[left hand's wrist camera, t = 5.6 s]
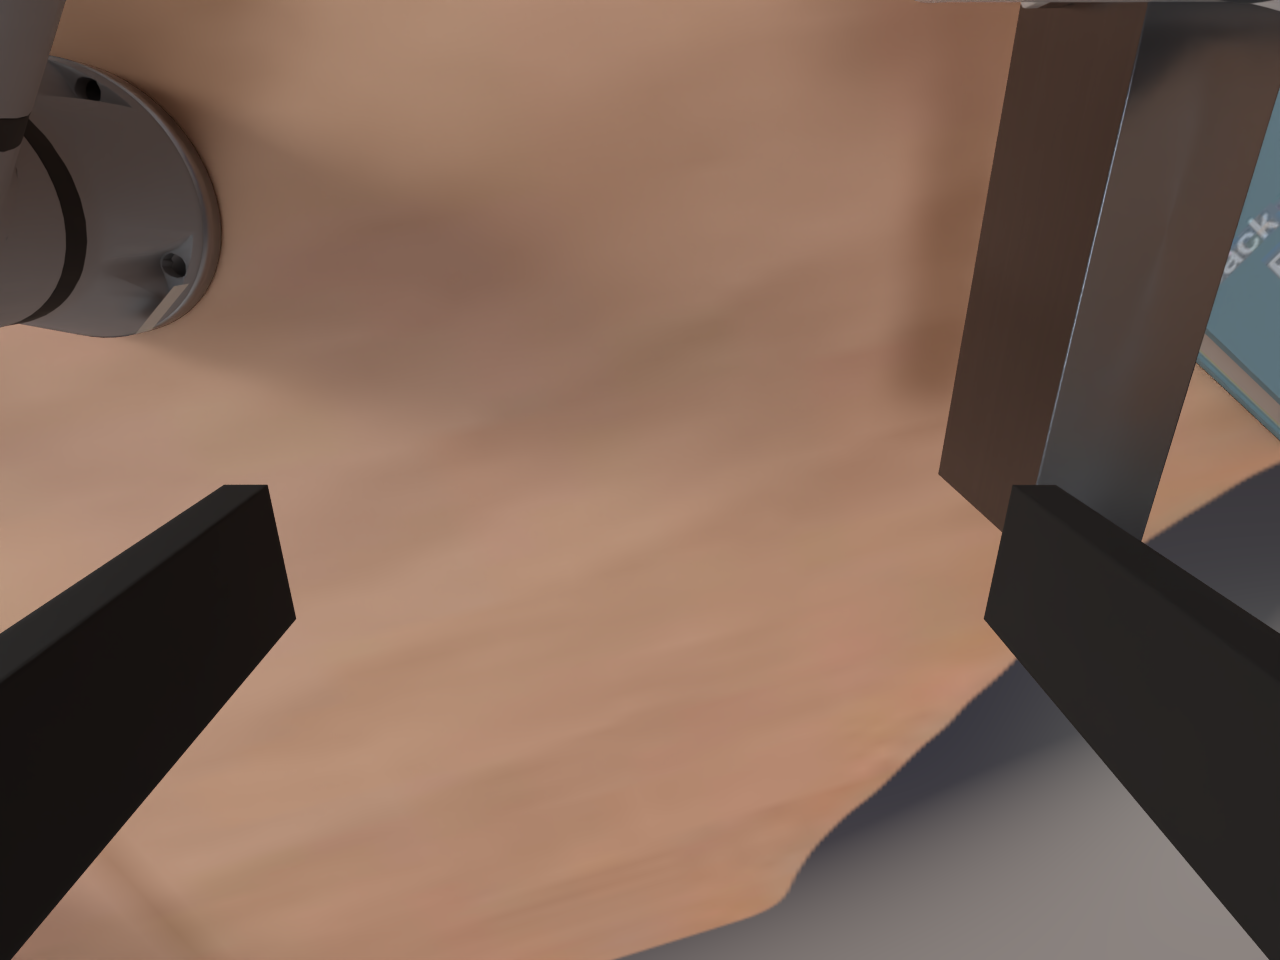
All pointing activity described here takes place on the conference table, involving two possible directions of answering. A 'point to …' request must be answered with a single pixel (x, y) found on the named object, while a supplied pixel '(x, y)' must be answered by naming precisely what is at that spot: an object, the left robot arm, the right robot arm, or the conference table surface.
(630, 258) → the conference table surface
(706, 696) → the conference table surface
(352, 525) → the conference table surface
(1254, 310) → the book
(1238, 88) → the bar
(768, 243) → the conference table surface
